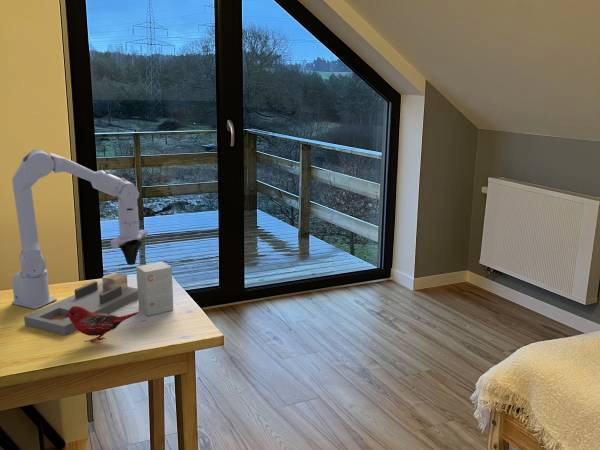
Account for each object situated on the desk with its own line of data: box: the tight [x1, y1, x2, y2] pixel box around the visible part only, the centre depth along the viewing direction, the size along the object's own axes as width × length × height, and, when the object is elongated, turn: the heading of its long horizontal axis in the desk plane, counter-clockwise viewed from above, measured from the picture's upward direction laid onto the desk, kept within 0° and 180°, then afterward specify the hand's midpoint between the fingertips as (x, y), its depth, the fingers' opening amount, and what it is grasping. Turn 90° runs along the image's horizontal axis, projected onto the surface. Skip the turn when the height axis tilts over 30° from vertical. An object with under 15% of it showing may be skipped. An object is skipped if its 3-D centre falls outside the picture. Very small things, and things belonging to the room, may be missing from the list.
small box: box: [135, 261, 174, 317], centre depth 165 cm, size 8×6×13 cm
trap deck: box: [23, 280, 138, 336], centre depth 164 cm, size 14×30×5 cm, turn 156°
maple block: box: [101, 272, 129, 291], centre depth 174 cm, size 5×5×4 cm
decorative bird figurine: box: [64, 306, 140, 343], centre depth 145 cm, size 3×18×10 cm, turn 114°
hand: (131, 264), depth 180 cm, fingers closed
